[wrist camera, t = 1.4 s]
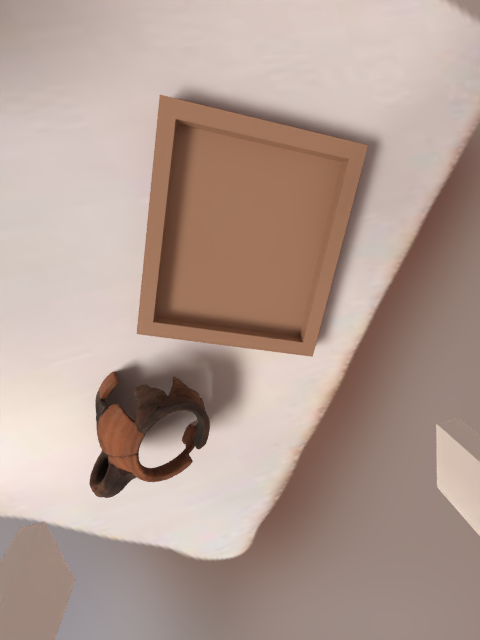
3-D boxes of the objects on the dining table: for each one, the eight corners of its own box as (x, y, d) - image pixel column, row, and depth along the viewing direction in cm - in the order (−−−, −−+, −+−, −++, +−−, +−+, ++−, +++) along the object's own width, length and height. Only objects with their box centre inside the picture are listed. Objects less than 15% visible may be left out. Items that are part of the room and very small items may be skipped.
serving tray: (141, 326, 29) (136, 333, 27) (163, 104, 24) (159, 94, 22) (305, 348, 31) (312, 356, 29) (356, 150, 26) (368, 145, 25)
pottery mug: (119, 339, 30) (156, 379, 24) (193, 371, 36) (237, 409, 30) (46, 456, 29) (65, 528, 23) (135, 467, 35) (168, 527, 29)
